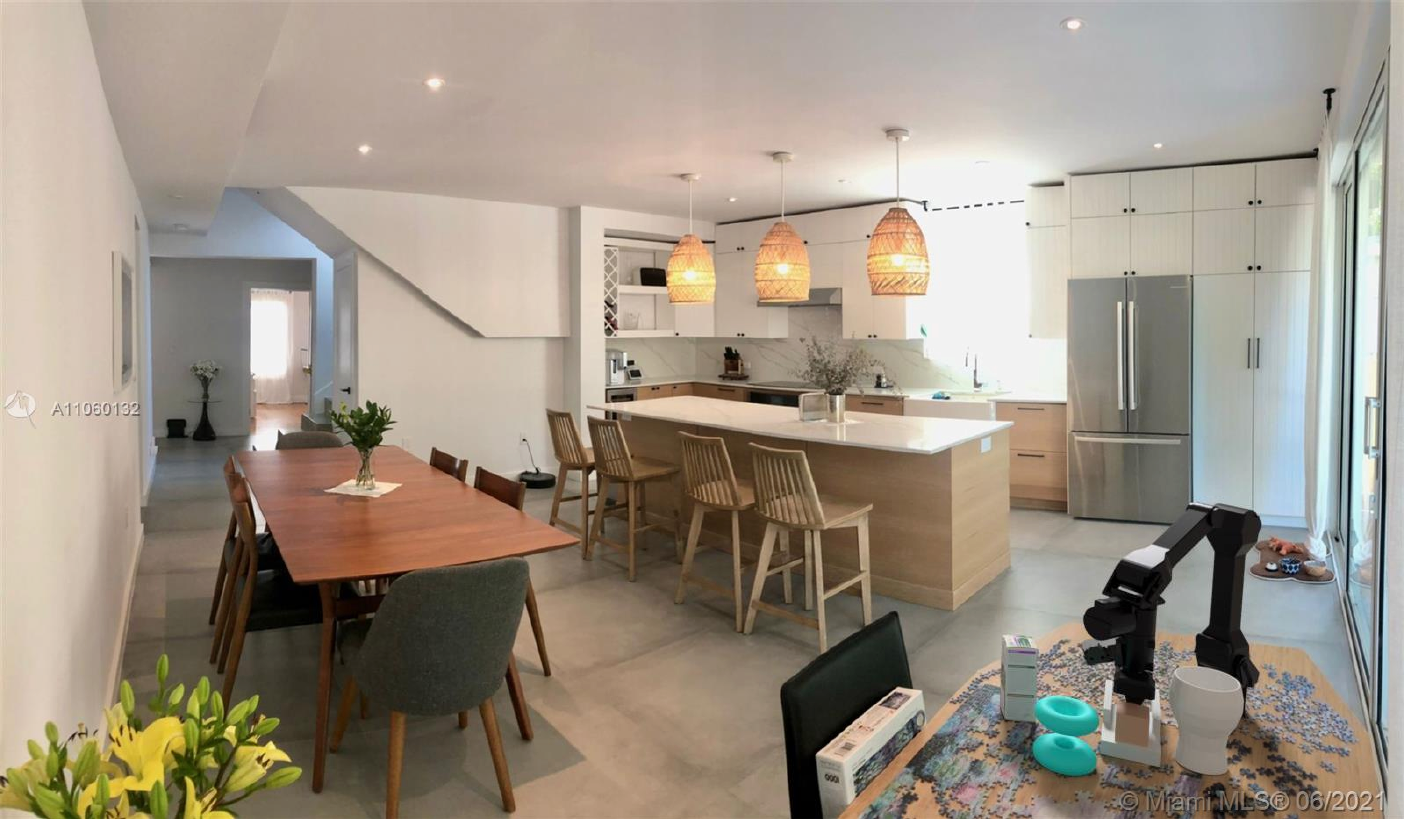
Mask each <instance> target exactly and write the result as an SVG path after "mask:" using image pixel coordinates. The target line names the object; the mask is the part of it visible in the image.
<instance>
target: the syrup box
mask: <svg viewBox="0 0 1404 819" xmlns="http://www.w3.org/2000/svg"><path fill="white" fill-rule="evenodd" d="M1038 656H1039V650H1038V647H1037V645H1036V643H1035V641H1034V638H1033V636H1026V635H1019V634H1018V635H1017V634H1016V635H1015V634H1006V635H1005V634H1002V637H1001V656H1000V657H1001V659H1000V661H1001V662H1000V668H1001V669H1000V692H999V693H1000V695H999V696H1000V697H999V700H1000V701H999V706H1000V709H1001V712H1002V716H1003V718H1004V720H1008V721H1017V722H1027V723H1036V720H1037V718H1036V716H1035V712H1034V708H1035V705H1036V703H1037V693H1038V691H1037V690H1038V658H1039V657H1038Z"/></svg>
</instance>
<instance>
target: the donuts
mask: <svg viewBox="0 0 1404 819" xmlns="http://www.w3.org/2000/svg"><path fill="white" fill-rule="evenodd" d="M1034 712H1035V716H1036V720H1037V721H1038V722H1039V723H1040V725H1042V726H1043V727H1044V728H1046V729H1048V730H1049V731H1052V733H1044V734H1042V735H1040V736H1039V737H1037V738H1036V739H1035V740H1034V741H1033V743H1032V747H1031V748H1032V754H1033V757H1034V758H1035V760H1036V761H1037V762H1038V763H1039V764H1040V765H1041V766H1043V767H1044V768H1045V769H1048V770H1049V771H1051V772H1054V773H1057V774H1061V775H1065V776H1074V777H1076V776H1077V777H1078V776H1085V775H1088V774H1090V773H1091V772H1093V771H1094V770H1095V769H1096V767H1097V764H1098V763H1097V762H1098V758H1097V754H1096V752H1095V751H1094V749H1093V748H1092V747H1091V746H1090V745H1089V744H1088V743H1087V742H1085V741H1084V740H1082V739H1080V738H1079V737H1084V736H1087V735H1091V734H1093V733H1094V732H1095V731H1096V730H1098V728H1099V726H1100V717H1099V714H1098V713H1097V710H1096V709H1094V707H1092V706H1091V705H1090V704H1088V703H1086V702H1084V701H1082V700H1080V699H1077V698H1075V697H1074V698H1073V697H1070V696H1064V695H1048V696H1045V697H1042V698H1040V699H1039V700H1038V701H1036V705H1035V708H1034Z"/></svg>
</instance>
